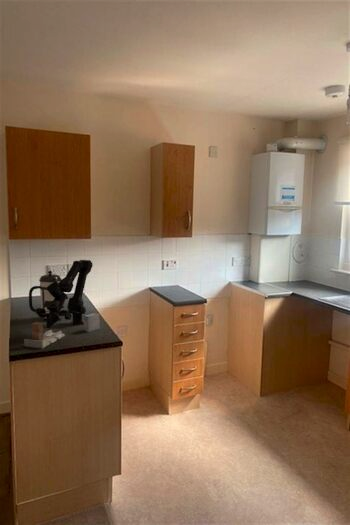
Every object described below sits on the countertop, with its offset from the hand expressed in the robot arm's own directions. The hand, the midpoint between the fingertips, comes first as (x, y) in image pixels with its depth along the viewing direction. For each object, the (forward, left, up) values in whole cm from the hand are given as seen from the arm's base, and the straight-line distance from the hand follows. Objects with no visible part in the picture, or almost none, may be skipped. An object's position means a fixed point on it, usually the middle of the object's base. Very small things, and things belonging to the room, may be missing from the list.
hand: (47, 328), depth 195 cm
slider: (+7, -6, -5) cm, 10 cm away
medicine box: (-7, +24, -6) cm, 26 cm away
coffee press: (-39, +5, -6) cm, 40 cm away
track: (+2, -1, -6) cm, 6 cm away
